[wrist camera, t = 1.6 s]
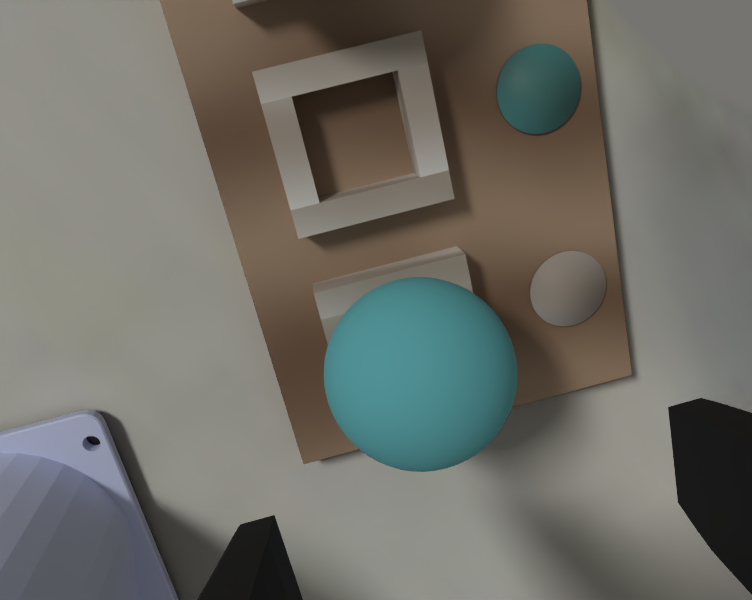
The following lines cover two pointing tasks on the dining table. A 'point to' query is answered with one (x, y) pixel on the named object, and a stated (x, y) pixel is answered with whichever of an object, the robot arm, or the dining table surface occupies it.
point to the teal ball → (420, 374)
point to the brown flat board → (410, 174)
